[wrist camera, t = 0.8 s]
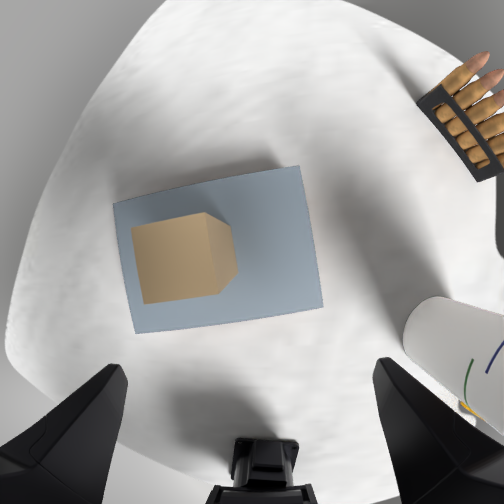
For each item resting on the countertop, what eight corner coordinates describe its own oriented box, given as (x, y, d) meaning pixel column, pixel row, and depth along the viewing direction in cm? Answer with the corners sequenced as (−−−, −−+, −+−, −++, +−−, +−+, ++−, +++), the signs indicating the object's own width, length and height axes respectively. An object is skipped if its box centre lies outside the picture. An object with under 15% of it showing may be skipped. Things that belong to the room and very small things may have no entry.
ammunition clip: (415, 103, 24) (476, 46, 12) (423, 95, 24) (483, 39, 12) (477, 183, 24) (555, 160, 12) (484, 173, 24) (559, 149, 12)
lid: (321, 304, 21) (363, 350, 11) (140, 330, 22) (69, 379, 12) (297, 168, 21) (322, 111, 11) (118, 205, 22) (35, 183, 12)
